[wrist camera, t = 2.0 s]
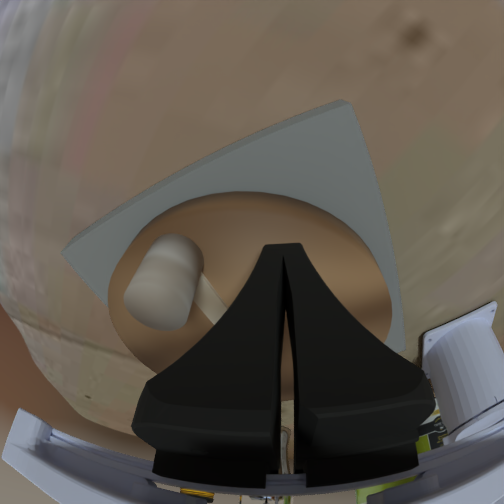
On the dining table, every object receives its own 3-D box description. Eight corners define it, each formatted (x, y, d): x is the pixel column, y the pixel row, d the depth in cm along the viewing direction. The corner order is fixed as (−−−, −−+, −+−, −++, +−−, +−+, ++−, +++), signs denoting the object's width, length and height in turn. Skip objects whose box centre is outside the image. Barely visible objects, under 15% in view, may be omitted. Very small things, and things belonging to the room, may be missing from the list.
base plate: (400, 333, 20) (405, 349, 19) (209, 380, 25) (206, 394, 24) (341, 99, 11) (351, 103, 10) (73, 237, 16) (60, 252, 15)
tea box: (351, 437, 37) (355, 515, 25) (348, 419, 31) (354, 517, 19) (435, 413, 33) (449, 489, 21) (449, 390, 28) (470, 482, 16)
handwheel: (393, 349, 18) (408, 407, 14) (209, 391, 23) (201, 440, 19) (338, 134, 10) (382, 178, 6) (75, 261, 15) (34, 319, 11)
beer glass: (261, 439, 37) (256, 523, 25) (235, 427, 34) (225, 523, 22) (302, 433, 35) (301, 524, 22) (279, 420, 31) (275, 527, 19)
